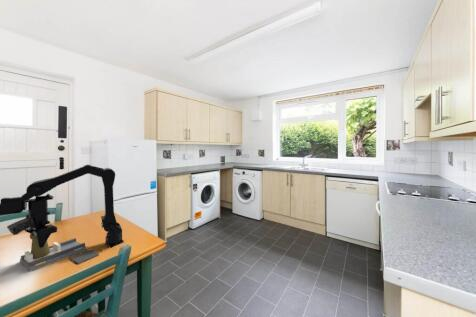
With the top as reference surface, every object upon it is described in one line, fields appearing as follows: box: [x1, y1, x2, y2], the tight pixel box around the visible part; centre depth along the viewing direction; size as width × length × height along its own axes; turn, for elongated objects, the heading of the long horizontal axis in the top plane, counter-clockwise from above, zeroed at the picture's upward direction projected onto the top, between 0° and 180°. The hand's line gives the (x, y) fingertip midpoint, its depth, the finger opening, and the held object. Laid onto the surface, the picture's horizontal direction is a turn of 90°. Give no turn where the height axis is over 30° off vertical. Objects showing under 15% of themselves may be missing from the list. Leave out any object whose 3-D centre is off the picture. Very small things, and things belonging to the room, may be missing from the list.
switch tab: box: [24, 241, 61, 263], centre depth 83 cm, size 10×7×3 cm
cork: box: [29, 231, 50, 259], centre depth 82 cm, size 6×6×11 cm
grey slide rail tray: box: [19, 237, 87, 272], centre depth 86 cm, size 19×12×3 cm, turn 153°
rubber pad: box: [69, 249, 100, 265], centre depth 86 cm, size 8×8×1 cm
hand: (39, 245), depth 82 cm, fingers closed on cork, 4 cm apart
